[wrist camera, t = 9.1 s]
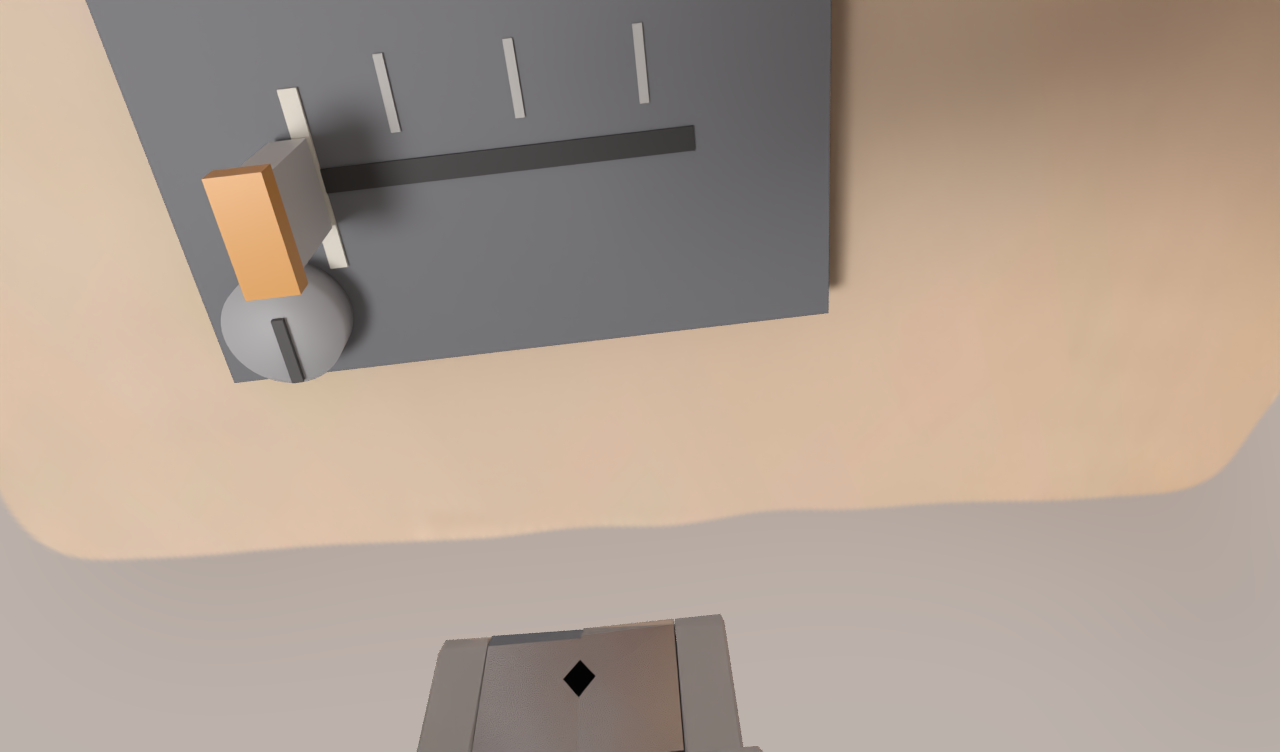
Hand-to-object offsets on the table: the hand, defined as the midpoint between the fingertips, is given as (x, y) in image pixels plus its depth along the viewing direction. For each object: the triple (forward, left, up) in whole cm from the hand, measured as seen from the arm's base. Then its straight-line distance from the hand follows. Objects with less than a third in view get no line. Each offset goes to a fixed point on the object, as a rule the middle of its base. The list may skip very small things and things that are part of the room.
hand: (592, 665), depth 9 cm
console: (+3, 0, -24) cm, 24 cm away
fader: (+9, 0, -22) cm, 24 cm away
